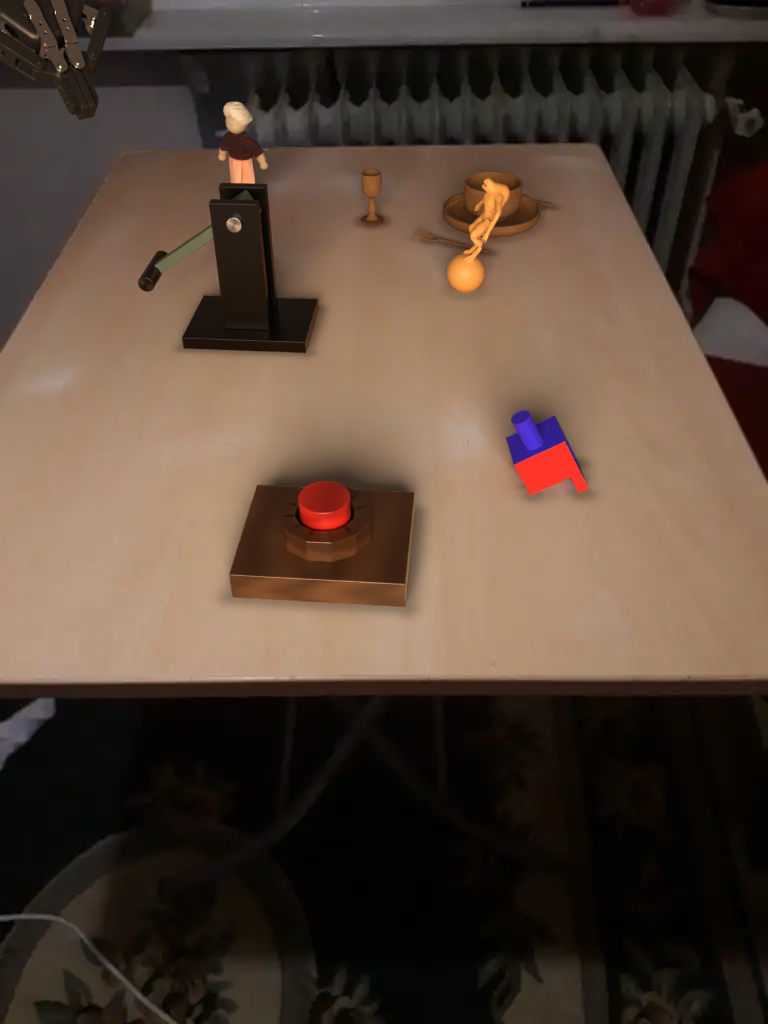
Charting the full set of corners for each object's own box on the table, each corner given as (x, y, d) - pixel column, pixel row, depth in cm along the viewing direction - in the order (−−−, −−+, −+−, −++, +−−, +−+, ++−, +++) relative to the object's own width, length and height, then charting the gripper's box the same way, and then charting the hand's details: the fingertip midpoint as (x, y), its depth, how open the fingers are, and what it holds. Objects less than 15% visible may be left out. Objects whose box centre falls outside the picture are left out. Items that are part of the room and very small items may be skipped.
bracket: (183, 348, 92) (160, 210, 83) (205, 305, 99) (186, 173, 90) (305, 353, 91) (295, 214, 82) (318, 309, 98) (310, 176, 89)
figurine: (443, 273, 104) (447, 163, 97) (498, 272, 104) (506, 163, 97) (448, 308, 98) (452, 194, 90) (506, 307, 98) (515, 193, 90)
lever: (148, 298, 91) (131, 278, 89) (165, 270, 95) (148, 251, 94) (254, 228, 85) (237, 206, 84) (266, 202, 90) (250, 181, 89)
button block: (232, 597, 66) (225, 554, 63) (259, 506, 73) (254, 465, 71) (405, 607, 65) (405, 564, 62) (414, 514, 72) (415, 472, 70)
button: (296, 531, 65) (294, 511, 64) (304, 498, 68) (302, 479, 67) (347, 533, 65) (347, 514, 64) (353, 501, 68) (352, 481, 67)
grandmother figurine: (211, 208, 119) (198, 102, 111) (227, 197, 122) (215, 93, 114) (265, 217, 117) (256, 110, 109) (280, 206, 120) (271, 100, 112)
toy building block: (530, 482, 78) (491, 412, 73) (578, 461, 77) (541, 388, 72) (539, 510, 75) (499, 438, 70) (589, 488, 74) (551, 414, 69)
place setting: (504, 259, 107) (508, 208, 103) (354, 224, 115) (352, 176, 111) (563, 206, 119) (568, 159, 115) (422, 178, 126) (423, 133, 123)
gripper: (-64, -77, 82) (22, 104, 82) (80, -91, 88) (160, 78, 89) (-64, -18, 89) (16, 150, 89) (70, -35, 95) (145, 122, 95)
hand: (88, 113), depth 89 cm, fingers closed
